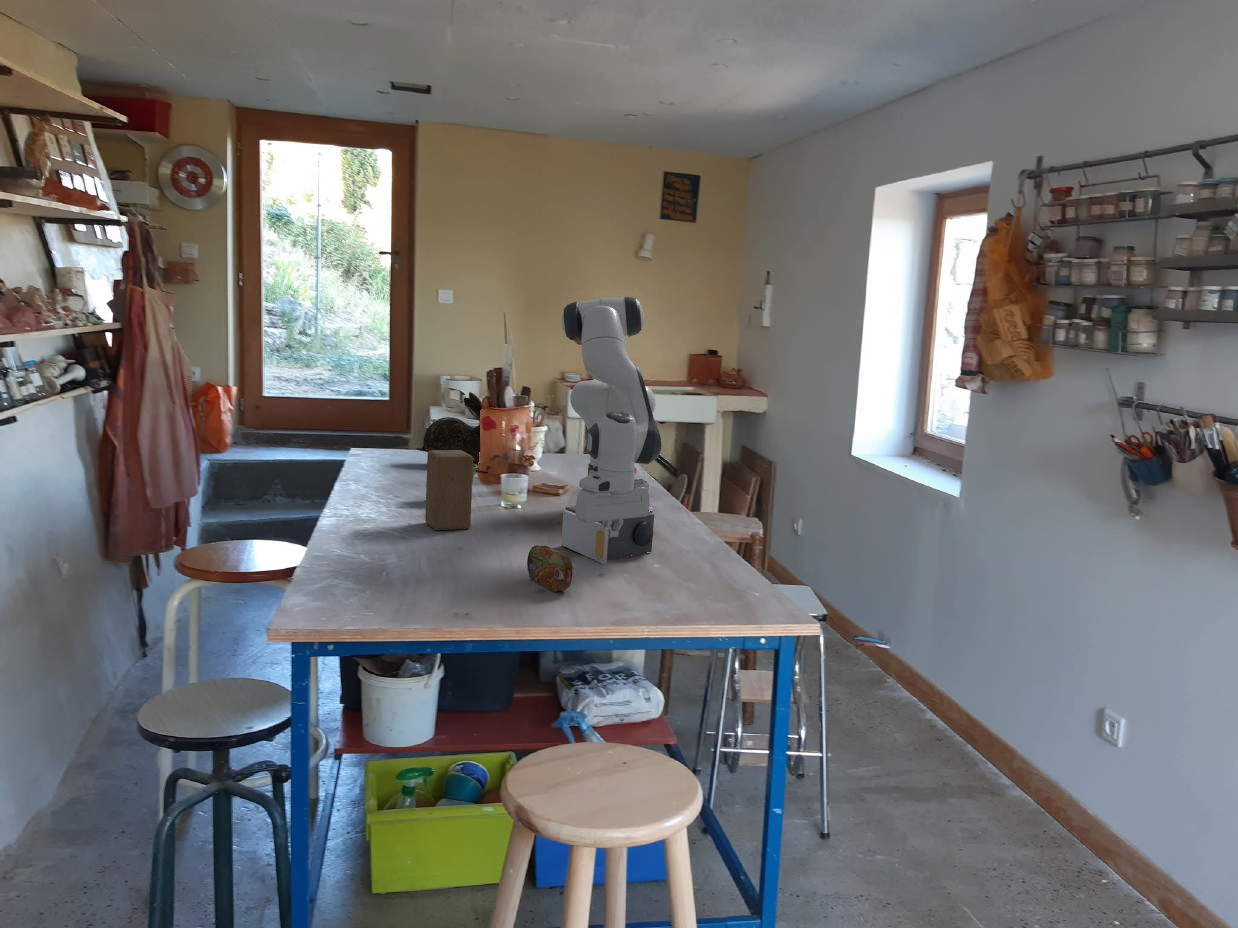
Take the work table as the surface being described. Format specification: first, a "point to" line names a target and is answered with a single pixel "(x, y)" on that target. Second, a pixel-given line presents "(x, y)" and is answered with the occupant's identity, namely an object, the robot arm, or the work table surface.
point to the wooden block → (449, 489)
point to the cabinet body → (629, 536)
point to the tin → (549, 568)
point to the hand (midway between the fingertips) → (611, 537)
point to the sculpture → (456, 432)
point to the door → (585, 537)
